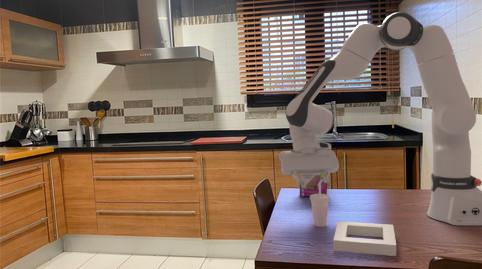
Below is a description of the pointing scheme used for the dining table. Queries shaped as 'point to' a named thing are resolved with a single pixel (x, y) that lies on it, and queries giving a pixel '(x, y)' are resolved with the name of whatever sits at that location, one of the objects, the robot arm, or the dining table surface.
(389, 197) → the dining table surface
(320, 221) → the smoothie
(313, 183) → the candy bar box
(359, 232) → the beige square frame
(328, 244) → the dining table surface
